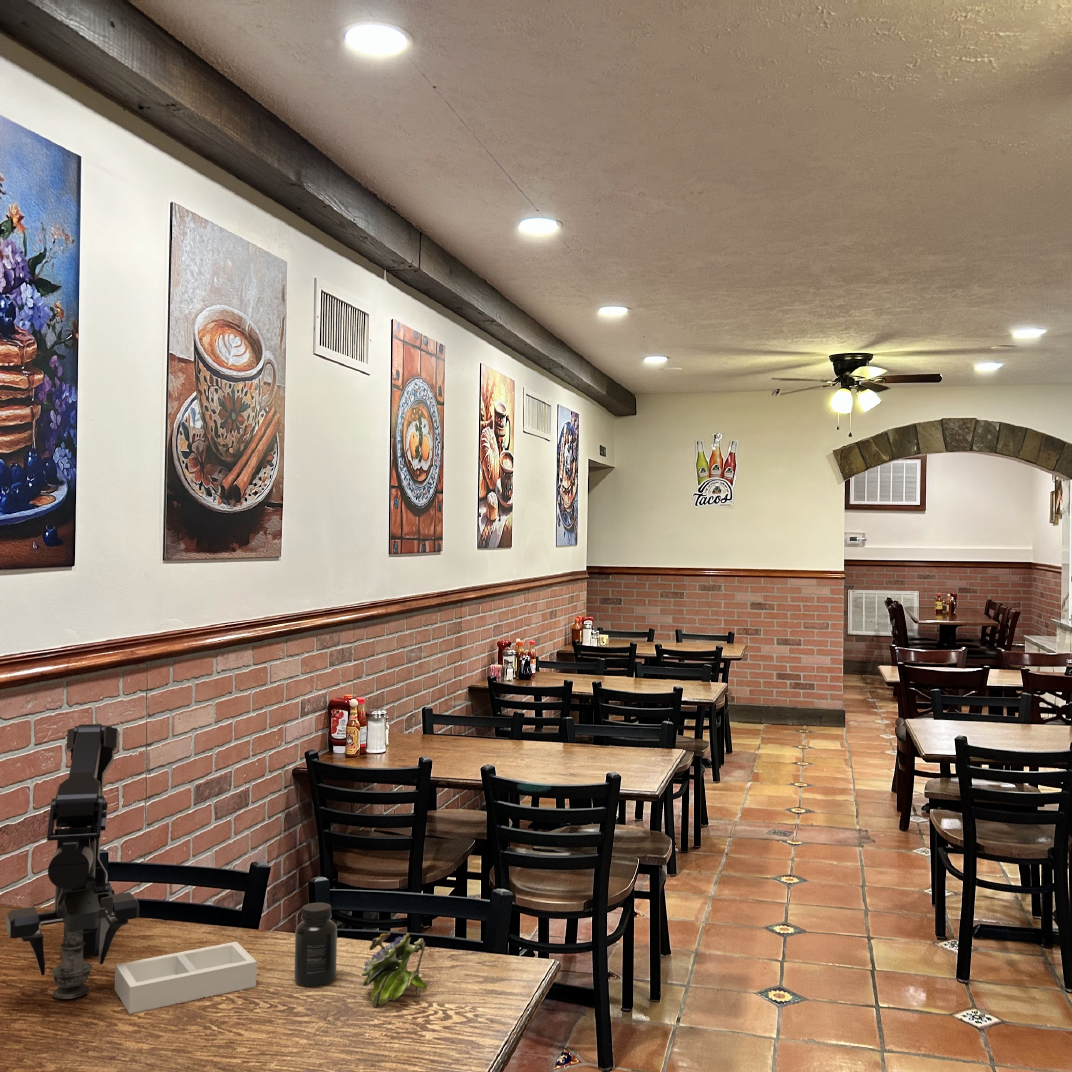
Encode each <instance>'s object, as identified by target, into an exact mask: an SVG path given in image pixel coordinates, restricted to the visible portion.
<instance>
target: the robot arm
mask: <svg viewBox="0 0 1072 1072" xmlns="http://www.w3.org/2000/svg"><path fill="white" fill-rule="evenodd" d="M66 733H67V734H66V746H65V747H66V748H65V750H66V751H67V753H70V761H71V763H70V768H69V773H68V778H66V779H65V780H63V782H61V783H59V784H58V786H57V791H56V795H55V797H52V798H51V802H50V807H49V808H50V809H49V815H48V817H49V818H48V826H47V832H46V833H47V834H46V842H53V841H56V849H55V852H54V854H53V856H52V857H51V860H50V862H49V865H48V868H47V876H48V880H49V881H50V882H51V884H52V885H54V886H55V887H54V910H49V911H42V912H38V911H37V909H36V907H35V906H29V907H24V908H16V909H11V910H9V911H8V913H7V914H6V917H5V930H6V932H7V933H8V936H9V938H10V939H15V940H16V939H20V940H21V942H22V943H23V942H24V943H25V942H27V943H28V942H29V944H30V946H31V948H32V951H33V953H34V957H35V960H36V964H37V966H38V969H39V973H40V974H41V976H45V971H46V962H45V950H44V935H43V932H42V931H41V928H42V927H41V926H47V925H48V926H49V925H52V924H59V923H63V925H64V926H63V929H64V928H65V930H66V931H67V932H76V931H78V930H83V941H84V942H85V943H86V944H85V945H84V946H83V959H84V958H85V959H86V958H89V957H95V956H98V963H99V965H103V964H104V961H105V960H106V957H107V955H108V952H109V949H110V946H111V944H112V941H113V939H114V938H115V935H116V934H117V932H118V930H119V929H120V928H121V927H123V926H125V925H128V923H129V920H134V919H138V918H139V917H140V902H139V900H138V899H137V898H136V897H135V895H134V894H132V893H131V892H130V891H127V892H122V893H121V892H120V893H116V894H115V892H116V891H115V890H114V889H113V886H112V883H111V882H108V880H109V879H108V871H107V870H106V868H105V867H104V865H103V863H102V861H101V859H100V852H101V837H102V832H103V831H107V830H106V828H107V819H108V810H109V805H108V802H107V800H106V797H105V795H104V781H105V775H106V773H107V772H108V770H109V769H110V767H111V766H112V764H113V763H114V760H115V751H119V746H120V745H119V743H120V731H119V728H117V727H113V725H112V724H111V725H103V724H102V723H85V724H84V723H83V724H82V723H81V724H78V725H74V727H73V728H70V729H69V728H68V729H67V732H66ZM55 827H56V828H55ZM54 828H55V829H54ZM60 950H61V952H62V951H63V949H62V948H61V947H60Z"/></svg>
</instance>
